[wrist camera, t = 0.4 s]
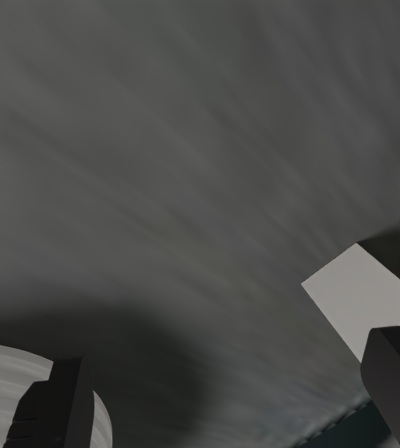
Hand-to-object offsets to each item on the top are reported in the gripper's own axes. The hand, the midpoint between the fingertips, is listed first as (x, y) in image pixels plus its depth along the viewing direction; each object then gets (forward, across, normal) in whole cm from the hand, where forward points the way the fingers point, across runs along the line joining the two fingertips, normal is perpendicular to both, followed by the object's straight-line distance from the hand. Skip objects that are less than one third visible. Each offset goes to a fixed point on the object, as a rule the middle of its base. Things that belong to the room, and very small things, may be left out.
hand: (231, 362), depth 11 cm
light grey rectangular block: (+21, -16, +14) cm, 30 cm away
